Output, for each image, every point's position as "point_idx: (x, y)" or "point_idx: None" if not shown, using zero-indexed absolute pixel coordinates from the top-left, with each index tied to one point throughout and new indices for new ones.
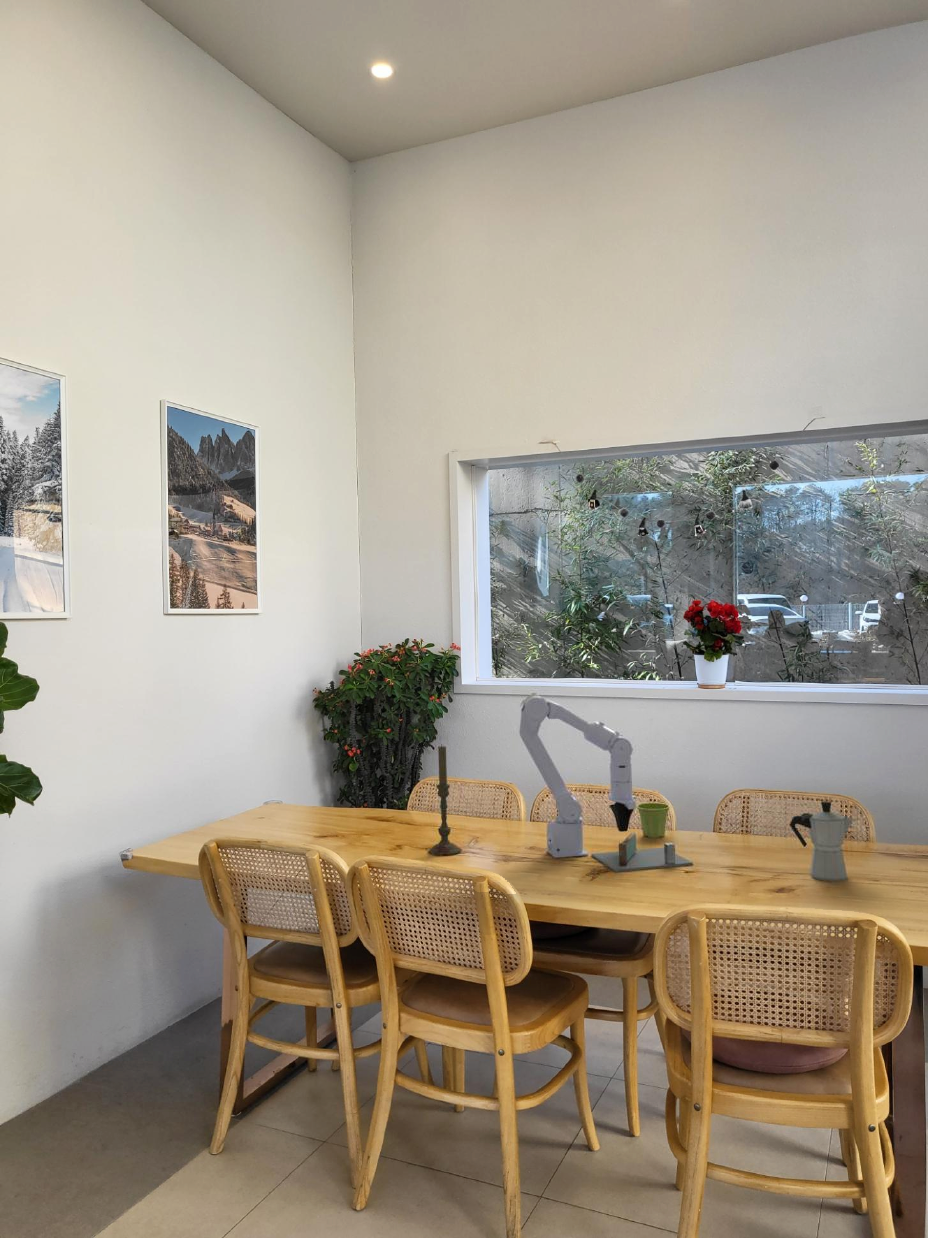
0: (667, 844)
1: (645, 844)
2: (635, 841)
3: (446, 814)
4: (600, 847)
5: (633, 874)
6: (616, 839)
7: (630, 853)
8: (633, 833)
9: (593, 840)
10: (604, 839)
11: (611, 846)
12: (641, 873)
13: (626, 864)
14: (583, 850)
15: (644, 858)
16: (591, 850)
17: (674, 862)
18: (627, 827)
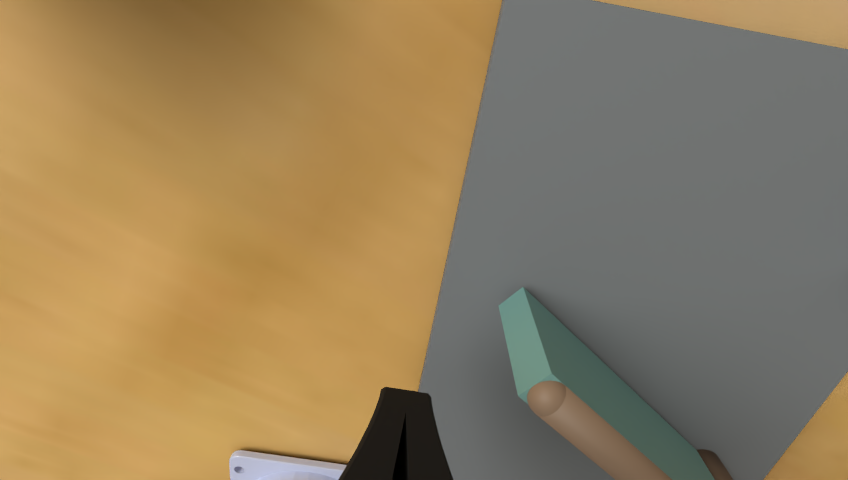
0: None
1: (253, 22)
2: (552, 346)
3: None
4: (234, 346)
5: (820, 472)
6: (19, 144)
7: (645, 413)
8: (578, 421)
9: (31, 295)
10: (8, 221)
11: (231, 283)
12: (843, 441)
13: (722, 463)
14: (318, 471)
15: (678, 317)
16: (286, 412)
17: None
18: (434, 423)
